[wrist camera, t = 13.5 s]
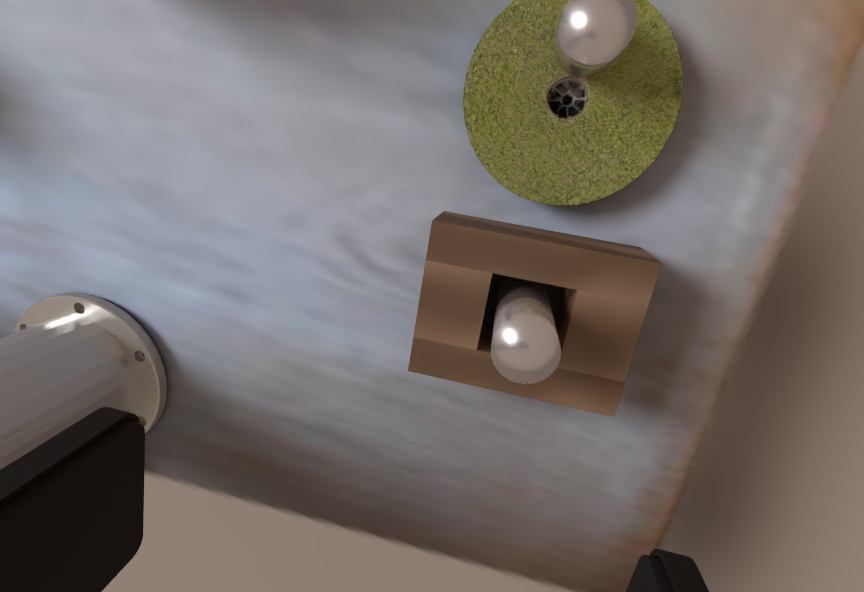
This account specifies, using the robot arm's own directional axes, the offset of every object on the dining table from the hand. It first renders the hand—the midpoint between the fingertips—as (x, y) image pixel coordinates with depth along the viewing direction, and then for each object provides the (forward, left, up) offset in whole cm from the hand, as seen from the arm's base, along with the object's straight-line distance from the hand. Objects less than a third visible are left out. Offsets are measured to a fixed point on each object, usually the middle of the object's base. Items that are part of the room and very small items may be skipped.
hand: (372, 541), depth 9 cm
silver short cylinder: (+13, -4, -22) cm, 25 cm away
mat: (+10, -3, -24) cm, 26 cm away
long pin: (-1, -3, -23) cm, 24 cm away
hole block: (-1, -4, -23) cm, 24 cm away
